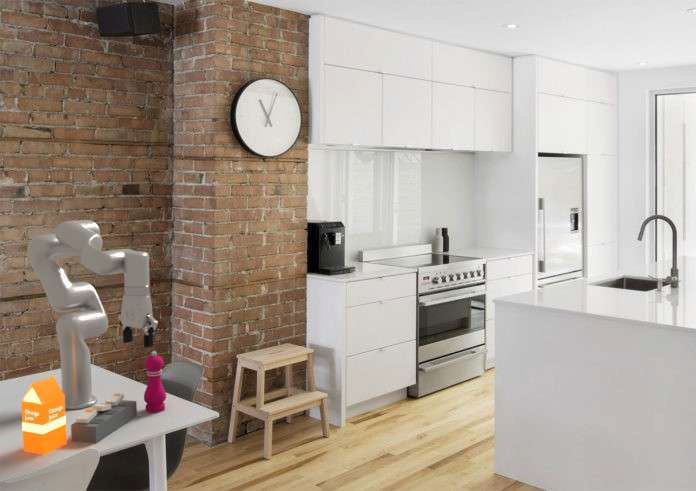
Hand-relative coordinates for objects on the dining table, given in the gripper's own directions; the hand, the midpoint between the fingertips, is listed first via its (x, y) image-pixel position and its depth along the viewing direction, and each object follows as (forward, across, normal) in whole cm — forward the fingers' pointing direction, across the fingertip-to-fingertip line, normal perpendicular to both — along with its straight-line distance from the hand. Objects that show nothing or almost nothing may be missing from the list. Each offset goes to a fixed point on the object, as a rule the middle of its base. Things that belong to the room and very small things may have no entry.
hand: (138, 344), depth 223 cm
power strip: (+25, -5, -8) cm, 27 cm away
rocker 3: (+19, -8, -3) cm, 21 cm away
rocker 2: (+19, -5, -11) cm, 22 cm away
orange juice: (+25, -5, -30) cm, 39 cm away
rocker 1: (+19, -2, -18) cm, 26 cm away
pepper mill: (+25, -4, +10) cm, 27 cm away
